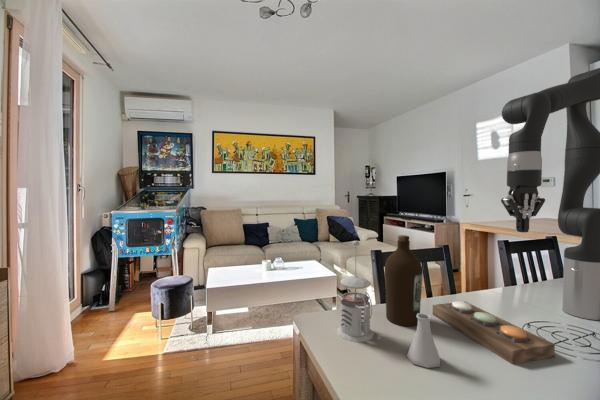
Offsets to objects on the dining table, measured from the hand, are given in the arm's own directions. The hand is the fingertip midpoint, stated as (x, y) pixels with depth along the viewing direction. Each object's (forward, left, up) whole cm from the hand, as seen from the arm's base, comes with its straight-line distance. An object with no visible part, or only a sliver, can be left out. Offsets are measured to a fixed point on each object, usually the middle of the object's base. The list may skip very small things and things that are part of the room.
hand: (522, 231), depth 78 cm
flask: (+36, +7, -27) cm, 46 cm away
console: (+12, 0, -27) cm, 30 cm away
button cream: (+12, -8, -26) cm, 30 cm away
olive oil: (+29, -12, -27) cm, 42 cm away
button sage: (+12, 0, -26) cm, 29 cm away
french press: (+46, -7, -27) cm, 54 cm away
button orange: (+12, +8, -26) cm, 30 cm away
